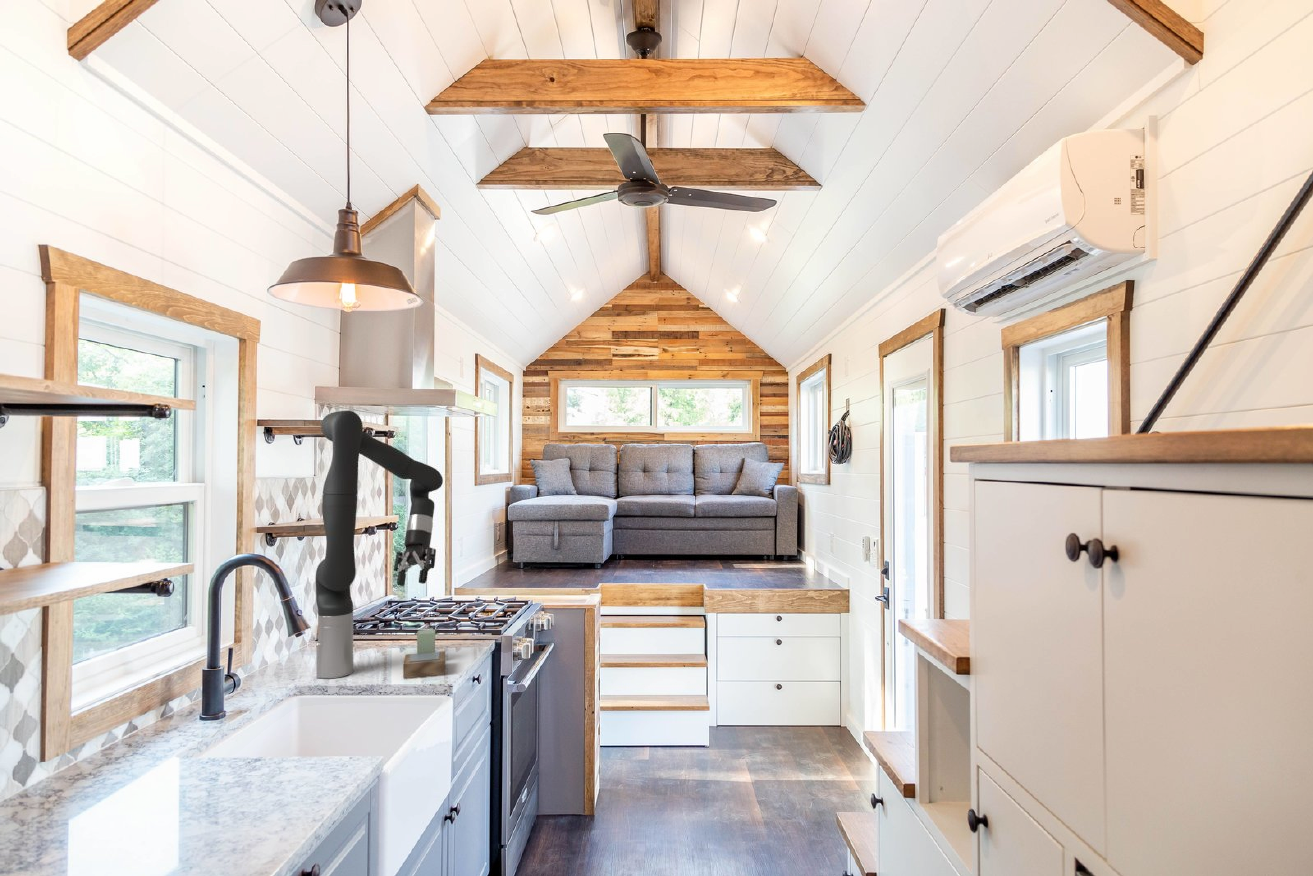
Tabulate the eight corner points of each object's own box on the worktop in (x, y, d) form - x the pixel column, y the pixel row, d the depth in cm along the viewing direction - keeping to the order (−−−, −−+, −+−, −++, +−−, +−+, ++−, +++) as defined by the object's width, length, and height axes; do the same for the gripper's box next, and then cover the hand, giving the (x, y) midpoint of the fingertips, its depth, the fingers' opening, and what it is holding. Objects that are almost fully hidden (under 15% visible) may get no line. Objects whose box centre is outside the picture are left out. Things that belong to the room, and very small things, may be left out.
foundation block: (403, 679, 198) (403, 663, 198) (405, 668, 208) (405, 653, 208) (444, 675, 200) (444, 659, 201) (445, 664, 211) (445, 650, 211)
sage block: (417, 665, 212) (417, 634, 212) (418, 660, 217) (417, 630, 217) (434, 663, 213) (434, 632, 213) (435, 659, 218) (435, 629, 218)
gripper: (392, 531, 220) (384, 584, 214) (427, 525, 214) (420, 579, 208) (410, 537, 226) (403, 588, 220) (445, 532, 220) (438, 584, 214)
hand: (411, 584), depth 214 cm, fingers open, 8 cm apart
